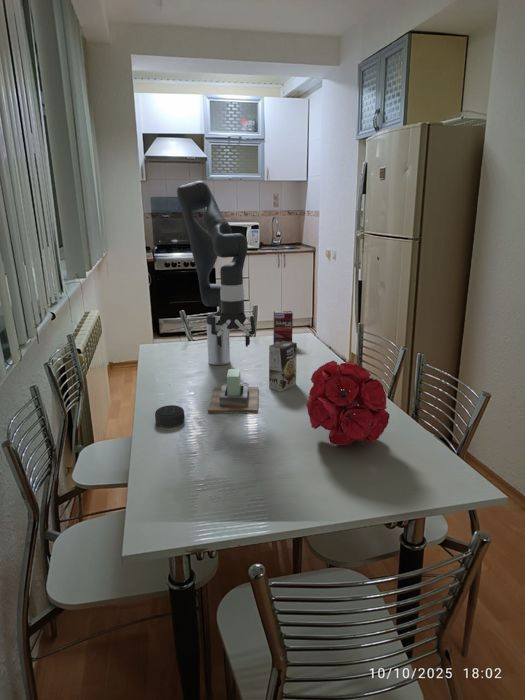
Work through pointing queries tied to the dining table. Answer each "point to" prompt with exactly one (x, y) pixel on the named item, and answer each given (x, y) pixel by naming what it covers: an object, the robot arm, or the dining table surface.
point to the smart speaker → (169, 416)
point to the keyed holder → (234, 400)
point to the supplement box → (283, 326)
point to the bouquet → (347, 403)
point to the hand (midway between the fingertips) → (233, 346)
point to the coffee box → (282, 365)
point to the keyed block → (233, 382)
